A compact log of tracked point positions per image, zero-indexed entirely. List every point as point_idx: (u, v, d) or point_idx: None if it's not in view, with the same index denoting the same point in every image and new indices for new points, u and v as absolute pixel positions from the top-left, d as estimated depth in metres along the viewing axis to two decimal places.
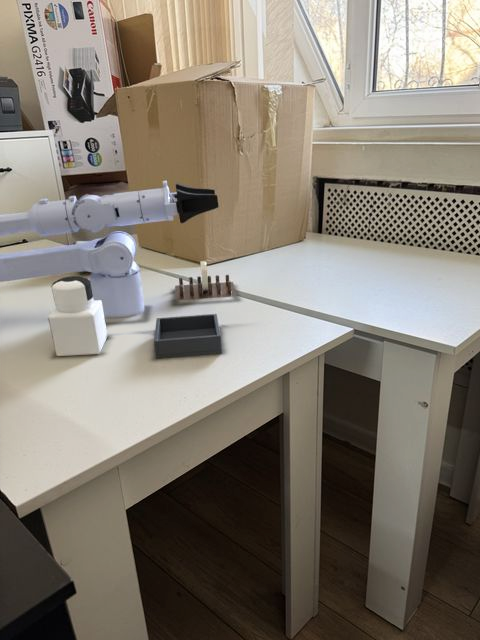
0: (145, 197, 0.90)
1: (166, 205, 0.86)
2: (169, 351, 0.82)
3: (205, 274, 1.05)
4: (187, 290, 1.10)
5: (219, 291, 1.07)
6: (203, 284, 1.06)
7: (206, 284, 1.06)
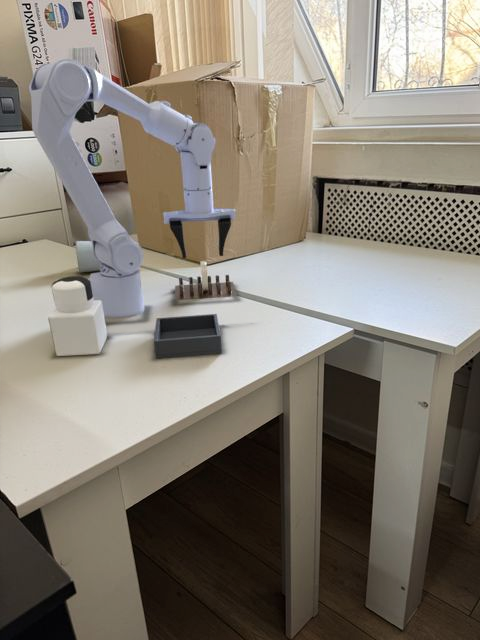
0: None
1: (234, 210, 1.04)
2: (169, 351, 0.82)
3: (205, 274, 1.05)
4: (187, 290, 1.10)
5: (219, 291, 1.07)
6: (203, 284, 1.06)
7: (206, 284, 1.06)
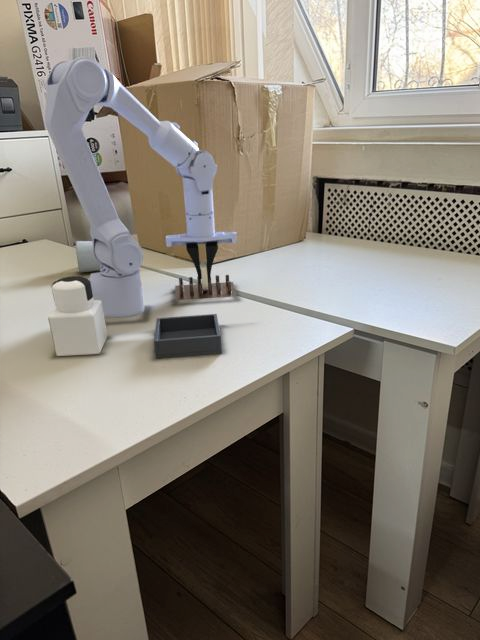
0: None
1: (235, 233, 1.06)
2: (169, 351, 0.82)
3: (205, 274, 1.05)
4: (187, 290, 1.10)
5: (219, 291, 1.07)
6: (203, 284, 1.06)
7: (206, 284, 1.06)
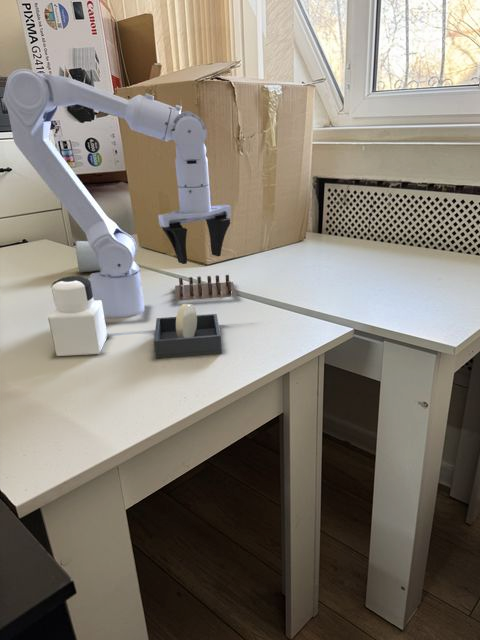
0: None
1: None
2: (169, 351, 0.82)
3: (180, 322, 0.83)
4: (187, 290, 1.10)
5: (219, 291, 1.07)
6: (178, 334, 0.83)
7: (181, 334, 0.83)
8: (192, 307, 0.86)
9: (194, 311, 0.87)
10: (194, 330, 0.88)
